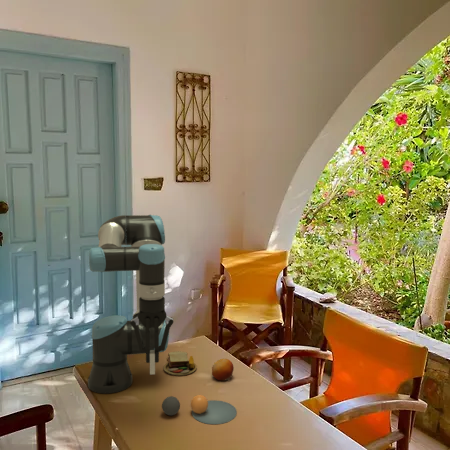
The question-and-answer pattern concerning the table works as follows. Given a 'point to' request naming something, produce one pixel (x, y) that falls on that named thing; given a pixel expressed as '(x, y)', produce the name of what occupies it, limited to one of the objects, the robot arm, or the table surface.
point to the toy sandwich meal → (179, 364)
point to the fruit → (222, 369)
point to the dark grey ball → (171, 405)
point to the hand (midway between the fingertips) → (152, 372)
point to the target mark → (216, 413)
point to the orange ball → (199, 404)
